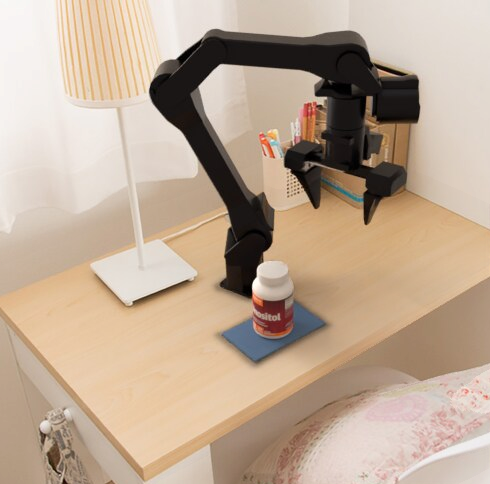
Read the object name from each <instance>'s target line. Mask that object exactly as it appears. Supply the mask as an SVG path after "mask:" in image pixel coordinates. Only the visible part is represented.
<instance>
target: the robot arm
mask: <svg viewBox="0 0 490 484" xmlns="http://www.w3.org/2000/svg"><path fill="white" fill-rule="evenodd" d="M221 65H227V66H237V67H239V66H241V67H253V68H266V69H276V70H277V69H279V70H290V71H291V70H292V71H302V72H306V73H309V74H311V75H314V76H316V77H318V78H321V79H320V80H318V81H317V82H316V83H314V85H313V90H314V91H313V93H314V94H313V95H314V96H315V98H326V107H325V108H326V109H325V110H326V111H325V113H326V114H325V129H324V130H322V131H321V132H320V139H321V140H324V141H325V145H324V146H325V147H324V146H323V145H322V144H321V143H318V142H314V141H311V140H306V139H302V140H300V141H299V142H296V143H295V144H293V145H292V146H290V147H288V148H287V149H286V150H285V152H284V153H283V167H284V168H285V169H287V170H290V175H293V176H294V177H295V178H296V179H297V181H298V183H299V184H300V185H301V187H302V189H303V191H304V192H305V194H306V196H307V199H308V200H309V202H310V204H311V206H312V207H313V209H314V210H318V209H319V208H320V207H321V199H322V173H323V169H328V170H331V171H335V172H338V173H341V174H346V175H350V176H353V177H356V178H359V179H360V178H361V179H363V180H365V181H364V182H365V184H364V188H365V189H366V190H365V191H364V192H363V193H362V202H363V205H362V207H363V210H362V212H363V213H362V214H363V215H362V217H363V224H364V226H368V225H369V224H370V223H371V221H372V220H373V217H374V215H375V213H376V211H377V209H378V207H379V205H380V203H381V201H382V200H383V199H384V198H390V197H392V196H393V195H394V194H395V193H397V192H398V191H399V190H400V189H401V188H402V187H404V186H405V185H406V184H407V181H408V180H407V179H408V172H407V169H406V167H404V165H400V164H396V163H393V162H389V161H385V160H382V161H381V162H380V163H378V164H377V165H376V166H375V167H374V166H373V167H372V166H370V165H366V164H364V161H369V160H370V159H372V154H375V155H380V153H381V152H380V151H381V148H382V144H383V139H384V134H383V133H380V132H377V131H372V130H371V129H370V125H366V116H367V115H366V114H367V113H366V112H367V100H368V99H367V98H368V97H369V116H370V118H375V122H376V123H377V124H378V125H416V124H418V123H419V120H420V115H421V104H420V86H419V85H420V79H419V77H418V75H417V74H406V75H396V76H394V75H392V76H391V75H389V76H380V74H379V71H378V68H377V66H375V64H374V63H373V61H372V60H371V55H370V51H369V48H368V45H367V42H366V40H365V39H364V37H363V36H362V35H361V34H360V33H359V32H357V31H355V30H336V31H327V32H323V33H319V34H315V35H311V36H293V35H282V34H281V35H280V34H266V33H253V32H241V31H228V30H223V29H220V28H212V29H209V30H207V31H206V32H205V33H204V35H203V36H202V37H200V39H199V40H197V41H196V42H194V43H193V44H192V45H190V46H189V47H188V48H185V50H184V51H183V52H182V53H181V54H180V55H178V56H177V57H176V58H175V59H173V58H172V59H171V58H170V59H166V60H164V61H163V62H161V63H160V64H159V65H158V67H157V68H156V70H155V73H154V75H153V77H152V79H151V81H150V83H149V88H148V97H149V100H150V102H151V104H152V105H153V106H154V108H155V109H156V110H157V111H158V113H159V114H160V115H161V116H162V117H163V118H164V119H165V121H166V122H168V123H169V124H170V125H171V126H173V127H175V129H177V130H179V132H181V134H182V135H183V138H185V140H186V142H187V144H188V145H189V147H190V148H191V151H192V152H193V153H194V155H195V157H196V158H197V161H198V162H199V164H200V165H201V167H202V169H203V171H204V172H205V174H206V175H207V177H208V179H209V181H210V182H211V184H212V186H213V187H214V189H215V191H216V192H217V194H218V196H219V197H220V199H221V201H222V203H223V204H224V206H225V208H226V210H227V214H228V218H229V224H230V226H229V227H228V228H227V233H226V239H225V247H224V254H223V259H224V260H225V262H224V263H225V278H223V279H222V280H221V281H220V282H219V287H220V288H224V289H225V290H228V291H231V292H233V293H236V294H239V295H242V296H244V297H247V298H253V296H252V285H253V282H254V280H255V279H256V278H257V268H258V266H259V265H260V264H262V263H264V262H265V261H264V260H265V259H264V253H265V252H267V251H268V250H269V249H270V248H271V247H272V244H273V242H274V231H275V214H276V213H275V208H274V207H273V206H271V205H270V203H269V201H268V199H267V195H266V193H265V192H264V191H262V192H260V193H259V194H255V192H252V191H251V190H250V189H249V188H248V187H247V185H246V183H245V180H243V178H242V176H241V174H240V172H239V171H238V169H237V167H236V165H235V163H234V161H233V159H232V157H231V156H230V154H229V152H228V151H227V149H226V148H225V145H224V143H223V142H222V140H221V138H220V137H219V135H218V133H217V131H216V130H215V128H214V126H213V124H212V123H211V121H210V119H209V118H208V115H207V113H206V111H205V107H204V102H203V99H202V95H201V91H200V86H201V84H202V83H203V82H204V81H205V80H206V79H207V78H208V77H209V76H210V75H211V74H212V73H213V71H215V70H216V69H217V68H218V67H219V66H221Z"/></svg>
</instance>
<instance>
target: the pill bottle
mask: <svg viewBox="0 0 490 484" xmlns="http://www.w3.org/2000/svg"><path fill="white" fill-rule="evenodd" d="M294 287H295V286H294V282H293V280H292V279H291V277H290V269H289V265H287V264H286V263H285V262H283V261H280V260H267V261H264V263H262V264H260V265H259V266H258V268H257V278H256V279H255V280H254V282H253V285H252V318H253V327H254V330H255V332H256V333H257V334H258V335H260V336H262V337H264V338H268V339H278V338H282V337H285V336H287V335H288V334H289V333H290V332H291V330H292V328H293V300H294V297H295V296H294V295H295V294H294V289H295V288H294Z"/></svg>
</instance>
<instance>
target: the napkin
mask: <svg viewBox="0 0 490 484" xmlns="http://www.w3.org/2000/svg"><path fill="white" fill-rule="evenodd" d="M326 325H327V322H326V321H324V320H323V319H321V318H320V317H318V315H315V314H314V313H312V312H311V311H309V310H308V309H306V308H305V307H304V306H303V305H301V304H300V303H298V302H297V301H295V300H294V299H293V328H292V330H291V332H290V333H289V334H288V335H287V336H285V337H282V338H278V339H268V338H264V337H262V336H260V335H258V334H257V333H256V332H255V330H254V327H253V317H251V318H249V319H248V320H246V321H243V322H242V323H239V324H237V325H235V326H233V327H231V328H230V329H228V330H227V329H226V330H225V331H223V332H222V333H221V336H222V337H223V338H224V339H226V340H227V341H228V342H229V343H230V344H231V345H233V346H234V347H235V348H237V350H239V351H240V352H241V353H242V354H244V356H246V357H247V358H249V359H250V360H251V361H252V362H253V363H255V364H256V363H257V362H260V361H261V360H264V359H265V358H267V357H269V356H270V355H272V354H274V353H276V352H278V351H280V350H281V349H284V348H285V347H288V346H289V345H291V344H293V343H294V342H297V341H298V340H301V339H302V338H304V337H306V336H308V335H310V334H312V333H313V332H315V331H317V330H319V329H321V328H322V327H325V326H326Z"/></svg>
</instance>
